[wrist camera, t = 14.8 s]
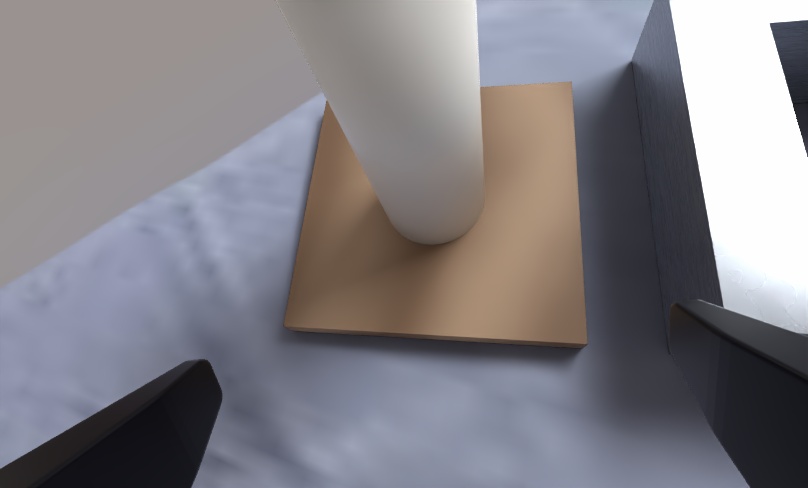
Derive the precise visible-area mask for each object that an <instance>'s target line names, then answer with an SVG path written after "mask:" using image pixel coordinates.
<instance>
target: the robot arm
mask: <svg viewBox="0 0 808 488" xmlns="http://www.w3.org/2000/svg"><path fill="white" fill-rule="evenodd" d="M669 346H670V350H671V353H672V355H673V357H674V359H675V361H676V363H677V365H678V367H679V369H680V371H681V372H682V374H683V376H684V378H685V380H686V382H687V384H688V386H689V388H690V390H691V391H692V393H693V395H694V397H695V399H696V401H697V403H698V405H699V407H700V409H701V411H702V412H703V414H704V416H705V418H706V420H707V422H708V423H709V425H710V427H711V429H712V431H713V432H714V434H715V435H716V437H717V438H718V440H719V442H720V443H721V445H722V446H723V448H724V449H725V451H726V452H727V454H728V455H729V457H730V458H731V460H732V461H733V463H734V464H735V465H736V467H737V468H738V470H739V471H740V473H741V474H742V476H743V477H744V479H745V480H746V482H747V483H748V485H749V486H750V488H808V336H805V335H802V334H799V333H796V332H793V331H790V330H787V329H784V328H781V327H778V326H775V325H772V324H770V323H767V322H764V321H761V320H758V319H755V318H752V317H749V316H746V315H743V314H740V313H737V312H734V311H731V310H728V309H725V308H722V307H720V306H717V305H714V304H711V303H708V302H705V301H702V300H698V299H693V300H685V301H677V302H674V303H673V304H672V305H671V308H670V321H669ZM221 403H222V390H221V387H220V385H219V382H218V380H217V378H216V375H215V373H214V371H213V369H212V366H211V364H210V363H209V362H208V361H207V360H205V359H198V360H189V361H185V362H183V363H182V364H180V365H178V366H176V367H175V368H173V369H171V370H170V371H168V372H166V373H164V374H163V375H161V376H159V377H158V378H156V379H154V380H152V381H151V382H149V383H147V384H145V385H144V386H142V387H140V388H139V389H137V390H135V391H133V392H132V393H130V394H128V395H127V396H125V397H123V398H121V399H120V400H118V401H116V402H114V403H113V404H111V405H109V406H108V407H106V408H104V409H102V410H101V411H99V412H97V413H96V414H94V415H92V416H90V417H89V418H87V419H85V420H83V421H82V422H80V423H78V424H77V425H75V426H73V427H71V428H70V429H68V430H66V431H65V432H63V433H61V434H59V435H58V436H56V437H54V438H52V439H51V440H49V441H47V442H46V443H44V444H42V445H40V446H39V447H37V448H35V449H34V450H32V451H30V452H28V453H27V454H25V455H23V456H21V457H20V458H18V459H16V460H15V461H13V462H11V463H9V464H8V465H6V466H4V467H2V468H1V469H0V488H191V487H192V485H193V482H194V480H195V478H196V475H197V473H198V470H199V467H200V465H201V462H202V459H203V456H204V453H205V450H206V447H207V444H208V441H209V438H210V435H211V433H212V430H213V427H214V424H215V421H216V418H217V415H218V412H219V409H220V406H221Z"/></svg>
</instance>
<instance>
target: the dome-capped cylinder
mask: <svg viewBox="0 0 808 488" xmlns="http://www.w3.org/2000/svg"><path fill="white" fill-rule="evenodd" d="M275 1H276V3H277V5H278V7H279V9H280V11H281V13H282V14H283V16H284V18H285V20H286V22H287V24H288V26H289V28H290V30H291V32H292V34H293V36H294V37H295V40H296V41H297V43H298V45H299V47H300V49H301V51H302V53H303V55H304V57H305V59H306V61H307V63H308V65H309V66H310V68H311V70H312V72H313V74H314V76H315V78H316V80H317V82H318V84H319V85H320V88H321V89H322V91H323V93H324V95H325V97H326V99H327V101H328V103H329V105H330V107H331V109H332V111H333V113H334V115H335V116H336V118H337V120H338V122H339V124H340V126H341V128H342V130H343V132H344V134H345V136H346V138H347V140H348V141H349V143H350V145H351V147H352V149H353V151H354V153H355V155H356V157H357V159H358V161H359V163H360V165H361V166H362V168H363V170H364V172H365V174H366V176H367V178H368V180H369V182H370V184H371V186H372V188H373V190H374V191H375V193H376V195H377V197H378V199H379V201H380V203H381V205H382V207H383V209H384V211H385V213H386V215H387V216H388V218H389V220H390V222H391V224H392V225H393V227H394V228H395V229H396V230H397V231H398V232H399V233H400V234H401V235H402V236H404V237H405V238H407V239H409V240H411V241H414V242H417V243H420V244H427V245H435V244H443V243H447V242H450V241H453V240H455V239H457V238H459V237H461V236H462V235H464V234H465V233H467V232H468V231H469V230H470V229H471V228H472V227H473V226H474V225H475V223H476V222H477V221H478V219H479V217H480V215H481V213H482V210H483V207H484V202H485V186H484V164H483V142H482V120H481V99H480V77H479V55H478V33H477V11H476V0H275Z"/></svg>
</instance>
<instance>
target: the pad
mask: <svg viewBox="0 0 808 488" xmlns="http://www.w3.org/2000/svg"><path fill="white" fill-rule="evenodd" d="M480 99H481V120H482V142H483V164H484V186H485V202H484V207H483V210H482V213H481V215H480V217H479V219H478V221H477V222H476V223H475V225H474V226H473V227H472V228H471V229H470V230H469V231H468V232H467V233H465V234H464V235H462V236H461V237H459V238H457V239H455V240H453V241H450V242H447V243H443V244H435V245H427V244H420V243H417V242H414V241H411V240H409V239H407V238H405V237H404V236H402V235H401V234H400V233H399V232H398V231H397V230H396V229H395V228H394V227H393V225H392V224H391V222H390V220H389V218H388V216H387V215H386V213H385V211H384V209H383V207H382V205H381V203H380V201H379V199H378V197H377V195H376V193H375V191H374V190H373V188H372V186H371V184H370V182H369V180H368V178H367V176H366V174H365V172H364V170H363V168H362V166H361V165H360V163H359V161H358V159H357V157H356V155H355V153H354V151H353V149H352V147H351V145H350V143H349V141H348V140H347V138H346V136H345V134H344V132H343V130H342V128H341V126H340V124H339V122H338V120H337V118H336V116H335V115H334V113H333V111H332V109H331V107H330V105H329V103H328V101H326V106H325V111H324V116H323V121H322V127H321V132H320V137H319V142H318V148H317V153H316V158H315V163H314V168H313V174H312V179H311V184H310V189H309V194H308V200H307V205H306V210H305V215H304V220H303V226H302V231H301V236H300V241H299V246H298V252H297V257H296V262H295V267H294V272H293V278H292V283H291V288H290V293H289V298H288V304H287V309H286V314H285V319H284V324H283V326H284V327H286V328H288V329H290V330H292V331H304V332H321V333H337V334H354V335H370V336H387V337H403V338H420V339H436V340H453V341H470V342H486V343H503V344H519V345H536V346H552V347H569V348H583V347H585V346H586V345H587V327H586V311H585V294H584V278H583V261H582V245H581V228H580V212H579V195H578V179H577V162H576V146H575V129H574V112H573V96H572V82H558V83H542V84H525V85H508V86H491V87H480Z"/></svg>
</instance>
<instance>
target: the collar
mask: <svg viewBox="0 0 808 488" xmlns="http://www.w3.org/2000/svg"><path fill="white" fill-rule="evenodd" d="M632 66H633V73H634V81H635V89H636V97H637V105H638V113H639V121H640V129H641V137H642V145H643V153H644V161H645V169H646V176H647V184H648V192H649V200H650V208H651V216H652V224H653V232H654V240H655V248H656V256H657V264H658V271H659V279H660V287H661V295H662V303H663V311H664V319H665V327H666V335H667V343H668V351H669V354H672V353H671V350H670V346H669V321H670V308H671V305H672V304H673V303H674V302H677V301H685V300H693V299H698V300H702V301H705V302H708V303H711V304H714V305H717V306H720V307H722V308H725V309H728V310H731V311H734V312H737V313H740V314H743V315H746V316H749V317H752V318H755V319H758V320H761V321H764V322H767V323H770V324H772V325H775V326H778V327H781V328H784V329H787V330H790V331H793V332H796V333H799V334H802V335H805V336H808V158H807V155H806V151H805V148H804V144H803V141H802V137H801V134H800V130H799V127H798V123H797V120H796V116H795V113H794V109H793V106H792V103H808V0H654V2H653V5H652V7H651V10H650V13H649V15H648V18H647V21H646V23H645V26H644V29H643V31H642V34H641V37H640V39H639V42H638V45H637V47H636V50H635V53H634V55H633V58H632Z"/></svg>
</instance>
